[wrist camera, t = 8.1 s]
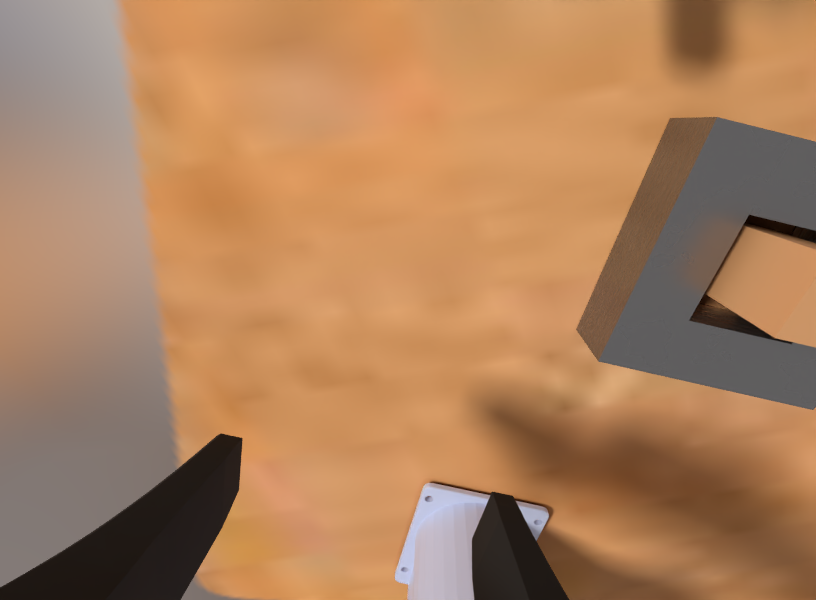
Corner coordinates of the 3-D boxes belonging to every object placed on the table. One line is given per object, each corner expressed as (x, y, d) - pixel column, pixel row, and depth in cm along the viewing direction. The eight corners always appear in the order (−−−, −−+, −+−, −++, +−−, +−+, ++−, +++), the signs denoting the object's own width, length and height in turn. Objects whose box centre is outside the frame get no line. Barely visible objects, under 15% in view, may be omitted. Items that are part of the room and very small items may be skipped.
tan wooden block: (737, 290, 19) (857, 357, 14) (677, 276, 19) (774, 338, 14) (774, 230, 18) (922, 277, 13) (710, 214, 18) (831, 254, 12)
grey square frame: (763, 372, 21) (813, 409, 18) (576, 329, 21) (598, 361, 18) (899, 175, 17) (990, 185, 14) (670, 118, 17) (717, 116, 14)
